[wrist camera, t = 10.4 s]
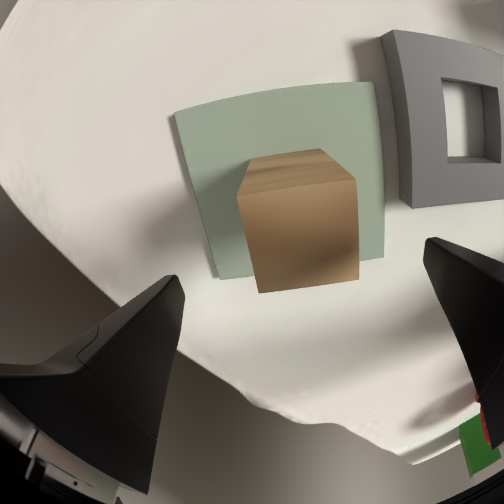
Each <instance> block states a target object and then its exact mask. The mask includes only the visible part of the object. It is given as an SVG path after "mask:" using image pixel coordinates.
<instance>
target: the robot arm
mask: <svg viewBox="0 0 504 504" xmlns="http://www.w3.org/2000/svg"><path fill="white" fill-rule="evenodd" d="M423 263H424V266H425V269H426V271H427V273H428V276H429V278H430V281H431V283H432V286H433V288H434V291H435V293H436V295H437V298H438V300H439V302H440V304H441V306H442V308H443V310H444V312H445V314H446V316H447V318H448V321H449V323H450V325H451V327H452V329H453V332H454V334H455V336H456V338H457V341H458V343H459V345H460V348H461V350H462V353H463V355H464V358H465V360H466V363H467V366H468V368H469V371H470V374H471V377H472V379H473V382H474V385H475V388H476V391H477V394H478V396H479V397H478V398H479V401H480V405H481V408H482V411H483V415H484V419H485V422H486V426H487V430H488V435H489V439H490V444H491V448H492V450H495V449H497V448H498V447H500V446H501V445H503V444H504V263H502V262H499V261H497V260H495V259H492V258H490V257H487V256H485V255H483V254H480V253H478V252H475V251H472V250H470V249H467V248H465V247H462V246H459V245H457V244H454V243H451V242H449V241H446V240H443V239H440V238H438V237H432V238H427V239H426V241H425V248H424V256H423ZM184 303H185V294H184V291H183V288H182V286H181V283H180V281H179V278H178V277H177V276H176V275H167V276H164V277H163V278H161V279H160V280H159V281H157V282H156V283H154V284H153V285H152V286H150V287H149V288H147V289H146V290H144V291H143V292H142V293H140V294H139V295H137V296H136V297H135V298H133V299H132V300H131V301H129V302H128V303H126V304H125V305H124V306H122V307H121V308H120V309H118V310H117V311H115V312H114V313H113V314H111V315H110V316H109V317H107V318H106V319H105V320H103V321H102V322H100V323H99V325H96V326H95V327H93V328H92V329H91V330H90V331H88V332H87V333H85V334H84V335H83V336H81V337H80V338H78V339H77V340H75V341H74V342H72V343H71V344H70V345H68V346H67V347H65V348H63V349H62V350H60V351H59V352H57V353H56V354H54V355H53V356H51V357H50V358H48V359H47V360H45V361H43V362H41V363H38V364H34V365H21V364H7V363H0V504H123V503H122V502H121V500H120V498H119V497H117V493H118V490H119V487H122V488H125V489H128V490H131V491H135V492H138V493H142V494H145V495H147V494H148V490H149V484H150V478H151V472H152V466H153V460H154V455H155V449H156V443H157V440H156V439H157V437H158V432H159V427H160V422H161V417H162V412H163V407H164V402H165V398H166V393H167V388H168V384H169V379H170V375H171V370H172V366H173V362H174V357H175V353H176V349H177V345H178V341H179V337H180V332H181V325H182V317H183V310H184ZM437 504H504V469H502V470H501V471H499V472H498V473H496V474H494V475H493V476H491V477H489V478H488V479H486V480H484V481H482V482H481V483H479V484H477V485H475V486H473V487H472V488H470V489H467V490H466V491H464V492H461V493H459V494H457V495H455V496H453V497H451V498H449V499H446V500H444V501H442V502H439V503H437Z"/></svg>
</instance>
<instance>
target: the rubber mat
mask: <svg viewBox="0 0 504 504" xmlns="http://www.w3.org/2000/svg"><path fill="white" fill-rule="evenodd" d="M174 115H175V119H176V123H177V127H178V131H179V135H180V139H181V143H182V147H183V151H184V155H185V159H186V163H187V166H188V170H189V174H190V178H191V181H192V185H193V189H194V193H195V196H196V200H197V203H198V207H199V211H200V214H201V218H202V221H203V225H204V228H205V231H206V235H207V238H208V242H209V245H210V249H211V252H212V255H213V259H214V262H215V265H216V268H217V272H218V275H219V278H220V280H225V279H233V278H241V277H249V276H255V275H254V271H253V266H252V262H251V258H250V253H249V249H248V245H247V240H246V236H245V232H244V227H243V223H242V219H241V214H240V210H239V206H238V201H237V197H236V196H237V194H238V191H239V188H240V186H241V183H242V181H243V178H244V175H245V173H246V170H247V168H248V165H249V163H250V160H251V159H252V158H258V157H264V156H270V155H276V154H282V153H289V152H296V151H303V150H311V149H319V148H321V149H322V150H323V151H324V152H326V153H327V154H328V155H329V156H330V157H332V158H333V159H334V160H335V161H336V162H337V163H339V164H340V165H341V166H342V167H343V168H344V169H345V170H347V171H348V172H349V173H350V174H351V175H352V176H353V177H354V178H355V179H356V183H357V198H358V218H359V261H363V260H370V259H376V258H382V257H384V233H385V196H384V170H383V155H382V143H381V132H380V123H379V115H378V108H377V101H376V94H375V88H374V82H344V83H328V84H315V85H305V86H297V87H289V88H281V89H274V90H268V91H262V92H256V93H251V94H246V95H241V96H236V97H231V98H227V99H222V100H218V101H214V102H210V103H206V104H202V105H198V106H194V107H191V108H187V109H184V110H180V111H177V112H174Z"/></svg>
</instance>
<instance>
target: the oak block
mask: <svg viewBox="0 0 504 504" xmlns="http://www.w3.org/2000/svg"><path fill="white" fill-rule="evenodd" d="M236 197H237V201H238V206H239V210H240V214H241V219H242V223H243V227H244V232H245V236H246V240H247V245H248V249H249V253H250V258H251V262H252V266H253V271H254V275H255V279H256V283H257V288H258V292H259V293H267V292H275V291H283V290H290V289H298V288H305V287H312V286H319V285H326V284H333V283H339V282H346V281H352V280H358V279H359V218H358V198H357V183H356V179H355V178H354V177H353V176H352V175H351V174H350V173H349V172H348V171H347V170H345V169H344V168H343V167H342V166H341V165H340V164H339V163H337V162H336V161H335V160H334V159H333V158H332V157H330V156H329V155H328V154H327V153H326V152H324V151H323V150H322V149H321V148H319V149H311V150H303V151H296V152H289V153H282V154H276V155H270V156H264V157H258V158H252V159H251V160H250V163H249V165H248V168H247V170H246V173H245V175H244V178H243V181H242V183H241V186H240V188H239V191H238V194H237V196H236Z"/></svg>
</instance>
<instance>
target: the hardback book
mask: <svg viewBox="0 0 504 504" xmlns="http://www.w3.org/2000/svg"><path fill="white" fill-rule="evenodd" d="M460 441H461V445H462V448H463V452H464V455H465V459H466V463H467V467H468V471H469V475H470V480H471V484H472V487H473V486H475V485H477V484H479V483H481V482H482V481H484V480H486V479H488V478H489V477H491V476H493V475H494V474H496V473H498V472H499V471H501V470H502V469H504V466H503V462H502V459H501V455H500V452H499V449H498V448H497V449H495V450H492V448H491V444H490V445H488V444H487V442H486V439H485V436H484V432H483V428H482V424H481V417H480V413H479V414H478V415H476V416H475V417H473V418H471V419H470V420H468V421H466V422H465V423H463V424H461V425H460Z"/></svg>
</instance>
